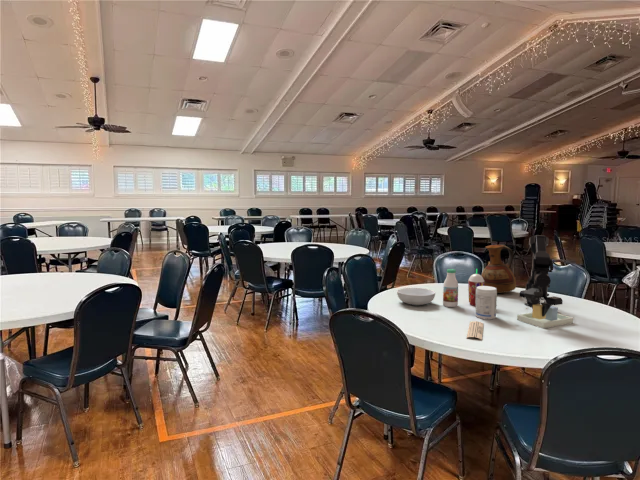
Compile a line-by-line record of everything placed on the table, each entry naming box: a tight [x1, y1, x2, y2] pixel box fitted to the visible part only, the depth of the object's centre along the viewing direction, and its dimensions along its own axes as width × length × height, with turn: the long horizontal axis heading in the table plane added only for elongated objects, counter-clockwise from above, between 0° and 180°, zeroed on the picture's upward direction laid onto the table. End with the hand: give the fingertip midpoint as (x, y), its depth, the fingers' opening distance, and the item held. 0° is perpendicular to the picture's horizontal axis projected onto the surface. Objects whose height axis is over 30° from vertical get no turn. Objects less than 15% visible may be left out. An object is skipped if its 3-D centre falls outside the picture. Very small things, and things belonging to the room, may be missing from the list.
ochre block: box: [531, 303, 546, 319], centre depth 192 cm, size 4×4×6 cm
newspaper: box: [466, 320, 484, 341], centre depth 180 cm, size 24×7×2 cm, turn 157°
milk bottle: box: [442, 268, 459, 308], centre depth 222 cm, size 8×8×20 cm
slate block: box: [545, 305, 559, 321], centre depth 195 cm, size 4×4×6 cm
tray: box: [516, 312, 574, 329], centre depth 194 cm, size 20×14×2 cm
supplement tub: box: [474, 286, 498, 320], centre depth 201 cm, size 10×10×15 cm
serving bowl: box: [396, 287, 436, 306], centre depth 228 cm, size 21×21×7 cm
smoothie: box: [467, 268, 484, 307], centre depth 224 cm, size 8×8×20 cm
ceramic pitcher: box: [480, 244, 517, 294], centre depth 254 cm, size 20×20×30 cm
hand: (539, 315), depth 192 cm, fingers closed on ochre block, 4 cm apart
